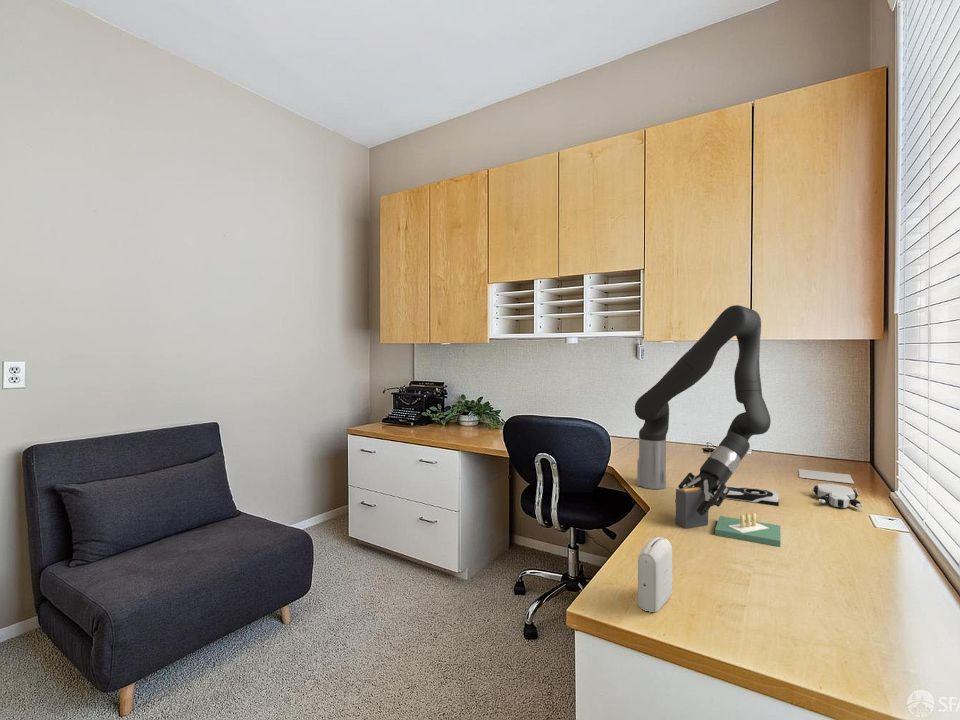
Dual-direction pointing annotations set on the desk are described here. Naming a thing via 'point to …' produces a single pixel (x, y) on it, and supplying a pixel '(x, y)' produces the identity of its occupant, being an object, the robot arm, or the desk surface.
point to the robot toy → (837, 495)
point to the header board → (748, 530)
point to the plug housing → (690, 507)
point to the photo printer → (654, 574)
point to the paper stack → (825, 476)
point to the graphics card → (752, 495)
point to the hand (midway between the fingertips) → (688, 508)
